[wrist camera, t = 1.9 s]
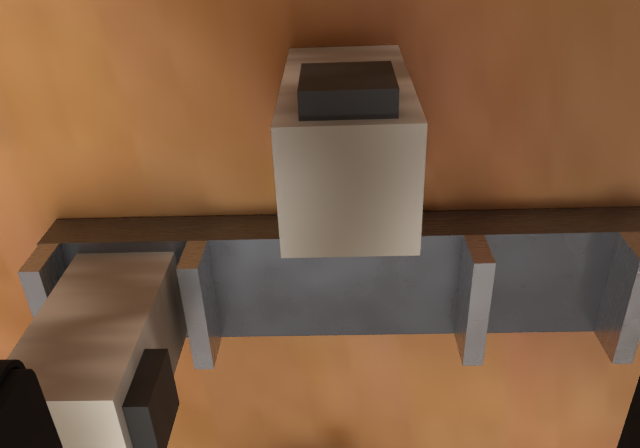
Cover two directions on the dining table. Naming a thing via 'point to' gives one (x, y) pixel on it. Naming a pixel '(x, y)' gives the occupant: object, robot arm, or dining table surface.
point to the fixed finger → (110, 350)
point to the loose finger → (348, 154)
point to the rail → (383, 277)
